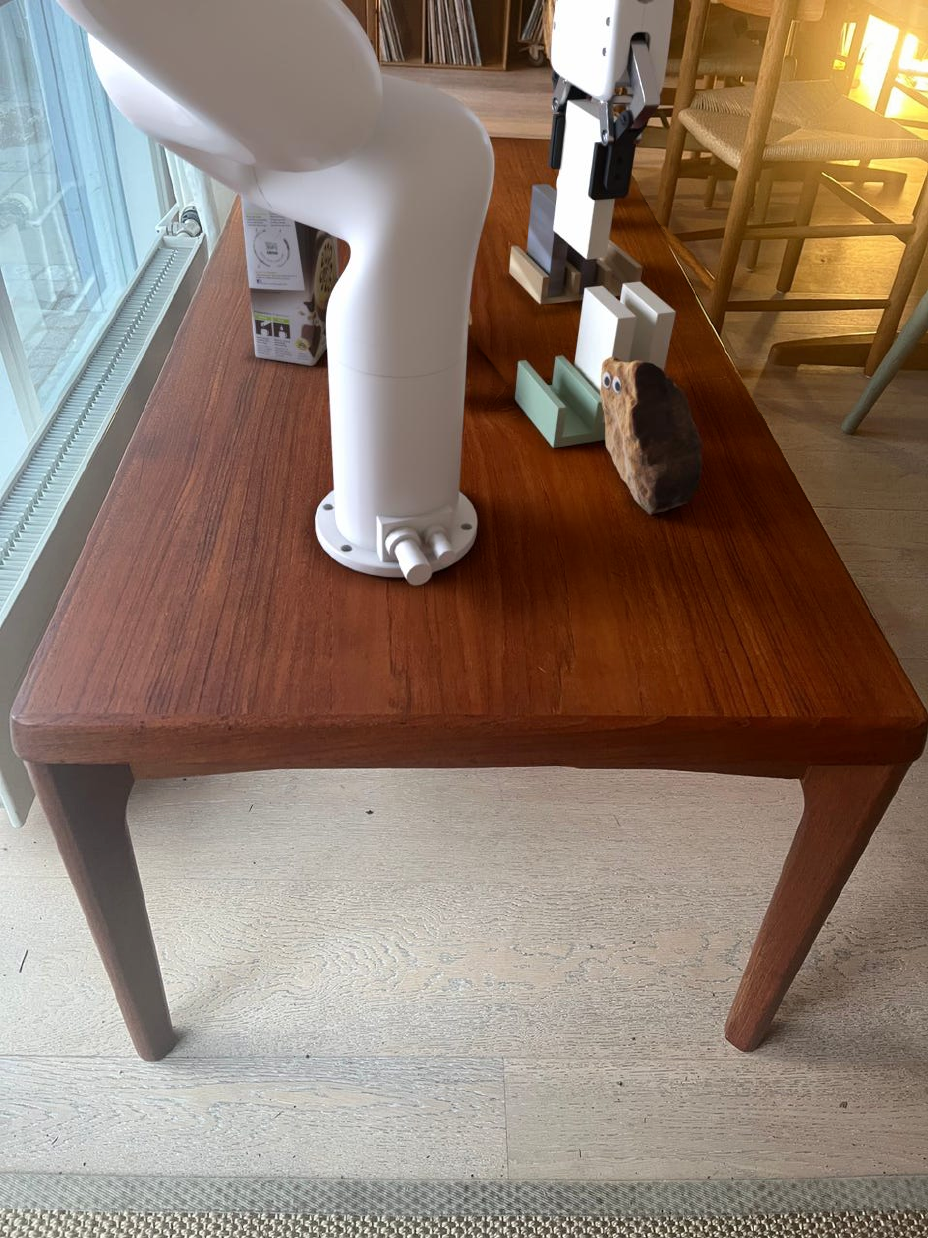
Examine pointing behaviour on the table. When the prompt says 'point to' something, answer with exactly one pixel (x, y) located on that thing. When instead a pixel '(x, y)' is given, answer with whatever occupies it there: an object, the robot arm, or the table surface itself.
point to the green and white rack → (595, 362)
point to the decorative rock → (650, 434)
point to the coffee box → (288, 284)
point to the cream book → (581, 184)
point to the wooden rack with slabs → (564, 259)
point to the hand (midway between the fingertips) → (586, 179)
